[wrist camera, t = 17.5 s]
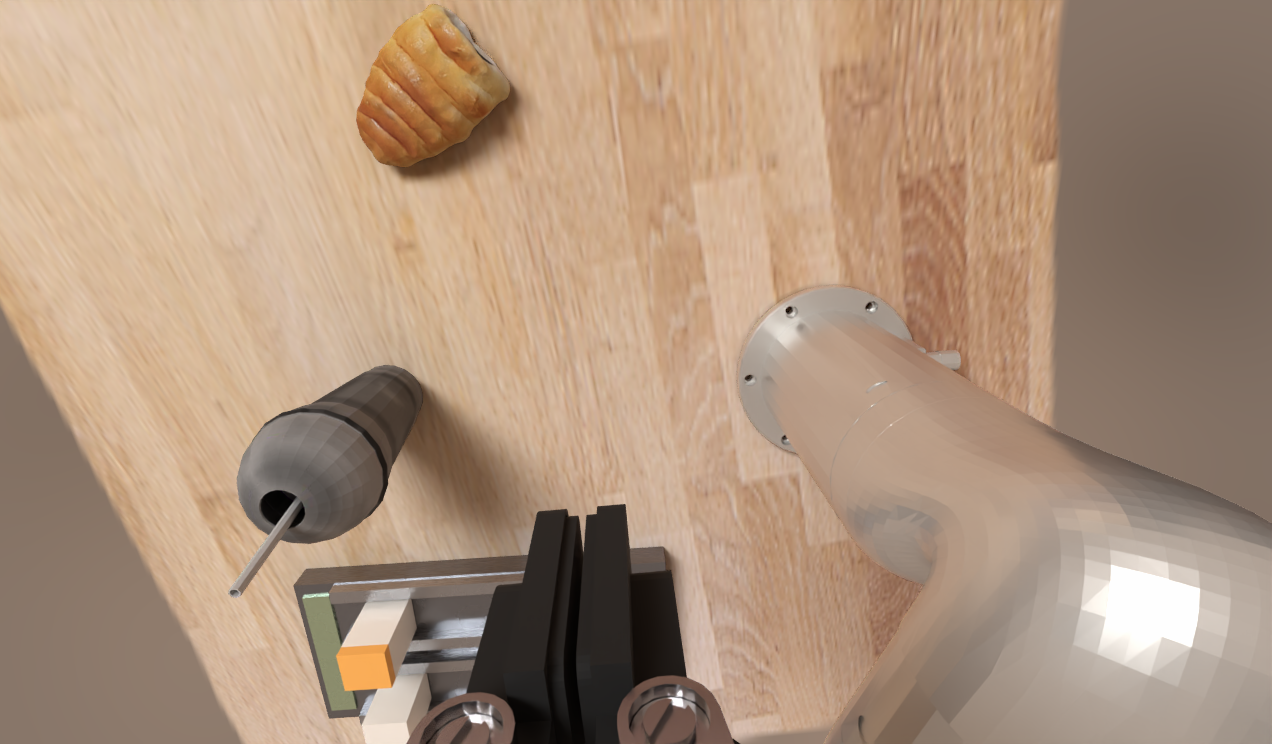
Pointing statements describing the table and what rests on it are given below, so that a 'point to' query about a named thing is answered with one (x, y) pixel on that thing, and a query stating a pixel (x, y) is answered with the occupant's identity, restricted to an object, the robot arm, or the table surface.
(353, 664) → the block
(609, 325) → the table surface
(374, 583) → the gray rail tray
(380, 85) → the pastry
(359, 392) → the beverage cup
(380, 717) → the block
